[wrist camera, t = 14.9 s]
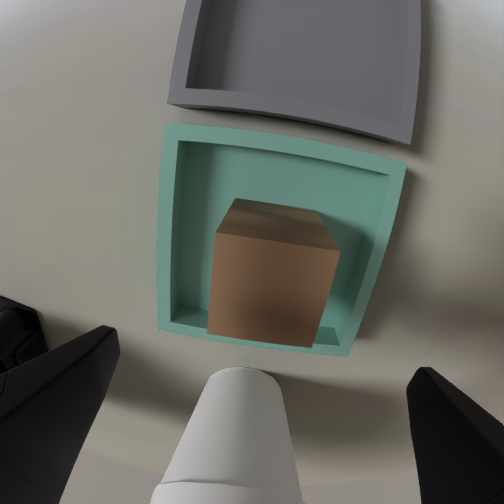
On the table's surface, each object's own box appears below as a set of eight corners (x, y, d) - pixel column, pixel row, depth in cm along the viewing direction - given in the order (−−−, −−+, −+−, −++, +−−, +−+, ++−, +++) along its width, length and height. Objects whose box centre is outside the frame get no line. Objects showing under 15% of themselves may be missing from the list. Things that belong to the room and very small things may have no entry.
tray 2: (170, 308, 20) (158, 329, 17) (179, 124, 15) (164, 123, 13) (340, 332, 19) (347, 356, 17) (388, 159, 15) (406, 163, 13)
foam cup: (207, 334, 20) (157, 506, 8) (320, 372, 21) (340, 529, 9) (177, 403, 24) (139, 526, 12) (269, 431, 25) (263, 551, 13)
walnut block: (226, 271, 18) (207, 333, 12) (235, 197, 16) (215, 232, 10) (300, 283, 18) (311, 347, 12) (316, 210, 16) (340, 251, 10)
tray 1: (182, 108, 15) (167, 103, 12) (215, -53, 10) (208, -73, 8) (391, 142, 15) (410, 144, 12) (403, -19, 10) (417, -34, 8)
